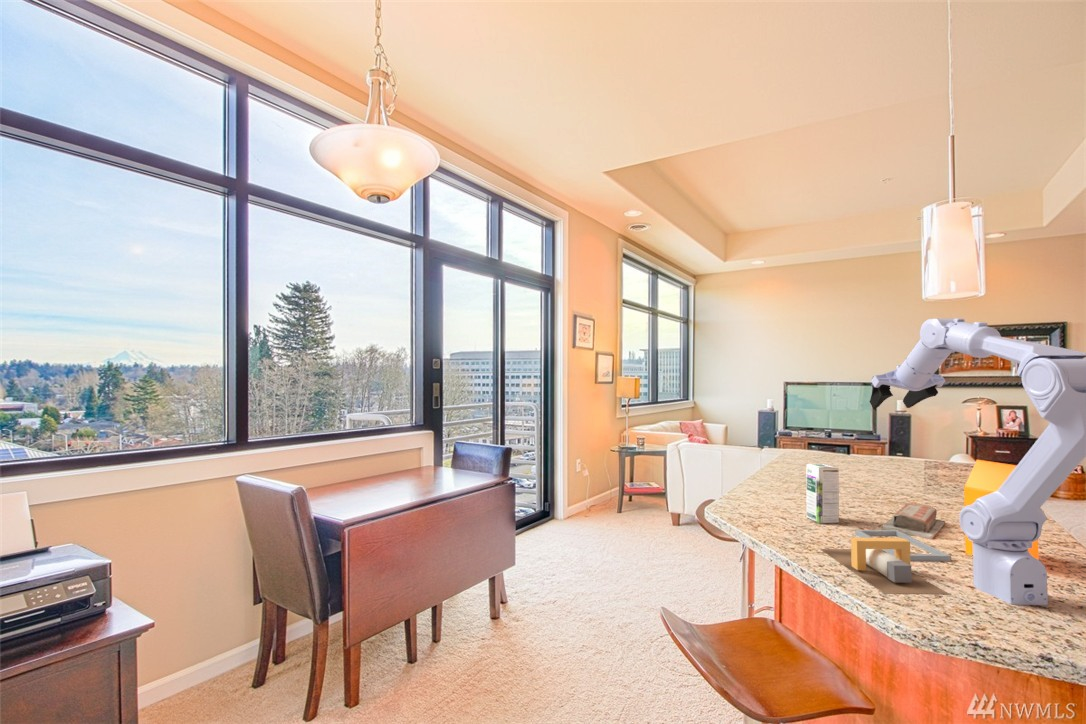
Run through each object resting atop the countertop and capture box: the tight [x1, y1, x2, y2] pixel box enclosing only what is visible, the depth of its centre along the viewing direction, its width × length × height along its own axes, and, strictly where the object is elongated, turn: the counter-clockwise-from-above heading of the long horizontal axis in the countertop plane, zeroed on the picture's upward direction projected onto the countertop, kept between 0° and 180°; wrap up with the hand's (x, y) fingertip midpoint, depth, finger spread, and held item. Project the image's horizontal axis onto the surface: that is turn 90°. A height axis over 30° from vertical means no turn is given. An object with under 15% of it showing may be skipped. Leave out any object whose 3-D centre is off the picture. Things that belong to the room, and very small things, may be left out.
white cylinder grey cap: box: [866, 549, 913, 583], centre depth 96 cm, size 11×4×4 cm, turn 178°
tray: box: [854, 529, 952, 562], centre depth 110 cm, size 17×10×2 cm, turn 178°
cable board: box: [819, 548, 951, 596], centre depth 98 cm, size 22×11×1 cm, turn 178°
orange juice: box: [963, 459, 1040, 561], centre depth 106 cm, size 8×9×20 cm
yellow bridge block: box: [850, 537, 911, 570], centre depth 97 cm, size 2×10×6 cm, turn 88°
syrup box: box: [805, 462, 840, 524], centre depth 134 cm, size 6×6×14 cm
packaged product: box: [882, 502, 946, 540], centre depth 128 cm, size 18×5×10 cm
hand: (889, 404), depth 117 cm, fingers open, 7 cm apart
